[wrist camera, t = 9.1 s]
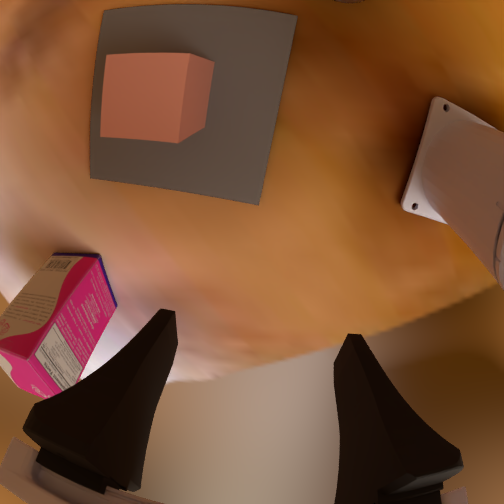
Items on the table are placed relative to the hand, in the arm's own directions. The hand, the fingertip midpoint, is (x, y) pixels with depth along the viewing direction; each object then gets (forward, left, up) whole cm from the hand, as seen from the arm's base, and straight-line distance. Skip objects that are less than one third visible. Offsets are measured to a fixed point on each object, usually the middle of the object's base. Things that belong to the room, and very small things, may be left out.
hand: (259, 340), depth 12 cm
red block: (+7, -8, -9) cm, 14 cm away
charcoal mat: (+7, -8, -9) cm, 14 cm away
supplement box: (+15, +8, -10) cm, 20 cm away
